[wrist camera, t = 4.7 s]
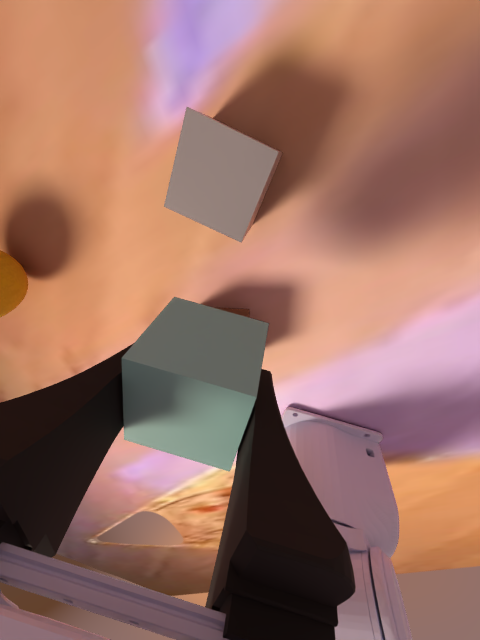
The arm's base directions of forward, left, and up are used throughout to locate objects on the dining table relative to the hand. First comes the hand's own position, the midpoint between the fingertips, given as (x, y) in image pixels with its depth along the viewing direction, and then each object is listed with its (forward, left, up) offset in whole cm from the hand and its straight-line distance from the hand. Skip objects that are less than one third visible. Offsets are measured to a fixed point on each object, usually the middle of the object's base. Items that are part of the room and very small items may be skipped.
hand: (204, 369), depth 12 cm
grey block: (+2, -7, -10) cm, 12 cm away
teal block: (0, 0, -2) cm, 2 cm away
